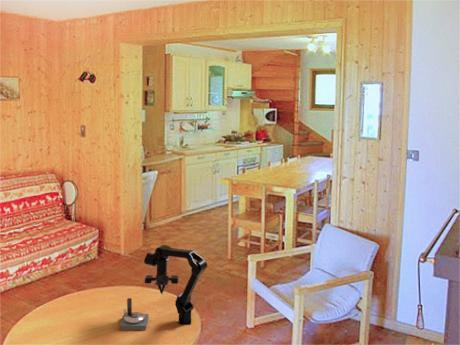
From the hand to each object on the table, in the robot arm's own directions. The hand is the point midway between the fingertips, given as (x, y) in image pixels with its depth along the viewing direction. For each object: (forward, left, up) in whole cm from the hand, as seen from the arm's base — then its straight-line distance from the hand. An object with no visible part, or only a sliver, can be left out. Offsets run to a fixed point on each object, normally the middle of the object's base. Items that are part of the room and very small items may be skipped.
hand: (161, 293), depth 285 cm
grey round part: (+15, +10, -10) cm, 21 cm away
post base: (+14, +11, -13) cm, 22 cm away
